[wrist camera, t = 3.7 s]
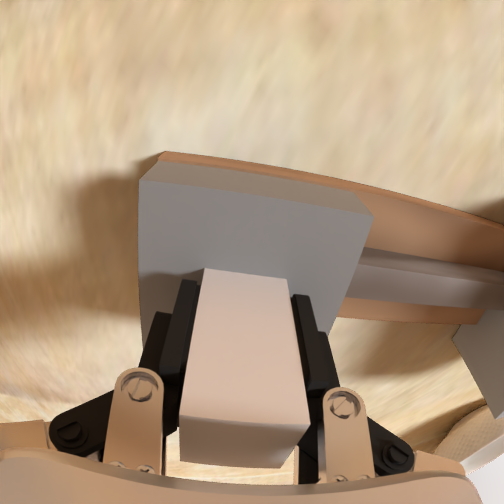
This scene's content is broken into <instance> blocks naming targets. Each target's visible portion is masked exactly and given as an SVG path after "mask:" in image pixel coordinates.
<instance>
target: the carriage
mask: <svg viewBox="0 0 504 504" xmlns="http://www.w3.org/2000/svg"><path fill="white" fill-rule="evenodd" d="M373 219H374V216H373V214H372V213H371V212H370V211H369V210H368V208H367V207H366V206H365V205H364V204H363V203H362V201H361V200H360V199H359V198H358V197H357V196H356V194H355V193H354V192H350V191H345V190H341V189H336V188H331V187H326V186H321V185H316V184H311V183H306V182H300V181H295V180H289V179H284V178H278V177H272V176H266V175H260V174H254V173H248V172H241V171H235V170H228V169H221V168H214V167H206V166H198V165H190V164H182V163H174V162H164V161H158V162H157V163H156V164H155V165H154V166H153V167H152V168H150V169H149V170H148V171H147V172H146V173H145V174H144V175H143V176H142V177H141V178H140V179H139V198H138V274H139V299H140V316H141V330H142V343H143V350H144V346H145V343H146V340H147V337H148V334H149V331H150V327H151V324H152V321H153V318H154V315H155V313H156V311H159V312H165V313H171V314H172V313H173V309H174V306H175V302H176V299H177V295H178V291H179V288H180V284H181V281H182V279H187V280H194V281H197V285H201V290H200V295H199V301H198V306H197V311H196V317H195V322H194V328H193V333H192V339H191V344H190V350H189V356H188V362H187V368H186V374H185V380H184V386H183V393H182V399H181V405H180V412H179V438H180V461H184V462H191V463H199V464H208V465H218V466H230V467H246V468H281V466H282V465H283V464H284V462H285V461H286V459H287V458H288V457H289V455H290V454H291V452H292V451H293V449H294V448H295V447H296V445H297V444H298V442H299V441H300V439H301V438H302V436H303V435H304V433H305V432H306V430H307V429H308V427H309V426H310V418H309V411H308V404H307V398H306V391H305V385H304V379H303V372H302V366H301V360H300V354H299V348H298V342H297V336H296V330H295V324H294V318H293V312H292V307H291V301H290V297H292V296H293V294H301V295H308V296H309V297H310V300H311V304H312V308H313V312H314V316H315V320H316V324H317V328H318V331H323V332H325V333H326V334H327V337H328V335H329V333H330V330H331V328H332V326H333V323H334V321H335V319H336V316H337V314H338V312H339V309H340V307H341V304H342V302H343V300H344V297H345V295H346V292H347V290H348V287H349V285H350V282H351V280H352V277H353V274H354V272H355V269H356V267H357V264H358V261H359V259H360V256H361V253H362V251H363V248H364V245H365V242H366V239H367V237H368V234H369V231H370V228H371V225H372V222H373Z"/></svg>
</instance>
